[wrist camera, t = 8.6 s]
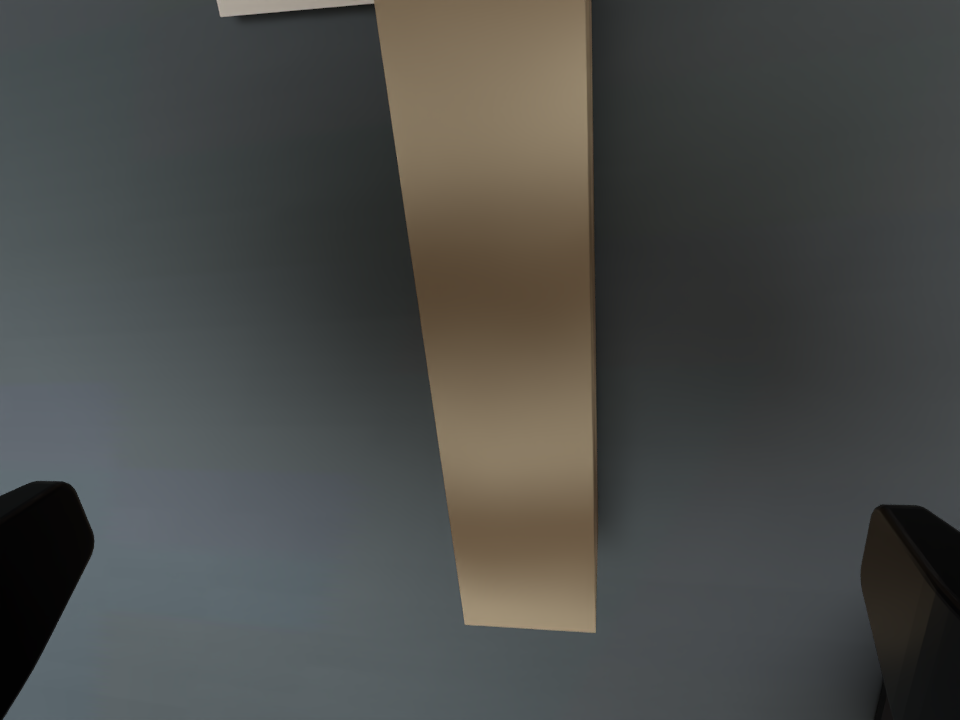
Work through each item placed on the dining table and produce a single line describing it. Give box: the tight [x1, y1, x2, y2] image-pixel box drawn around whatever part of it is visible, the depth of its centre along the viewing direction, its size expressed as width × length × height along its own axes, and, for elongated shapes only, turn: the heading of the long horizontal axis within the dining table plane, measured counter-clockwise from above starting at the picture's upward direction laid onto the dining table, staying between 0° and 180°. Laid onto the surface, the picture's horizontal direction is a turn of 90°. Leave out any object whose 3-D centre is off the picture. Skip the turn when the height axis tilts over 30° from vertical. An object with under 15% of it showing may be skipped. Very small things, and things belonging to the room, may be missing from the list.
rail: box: [374, 0, 598, 633], centre depth 16 cm, size 20×4×5 cm, turn 5°
